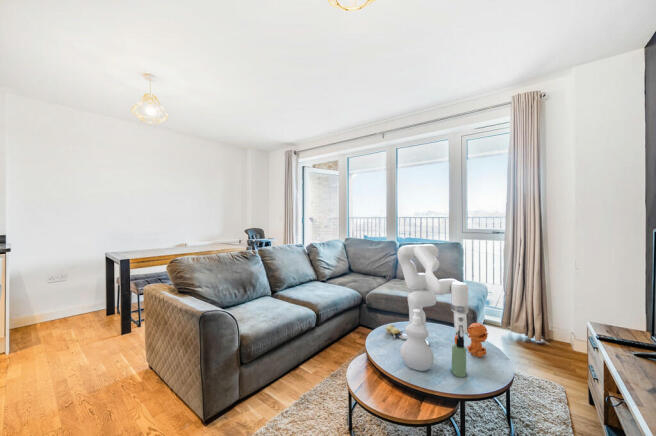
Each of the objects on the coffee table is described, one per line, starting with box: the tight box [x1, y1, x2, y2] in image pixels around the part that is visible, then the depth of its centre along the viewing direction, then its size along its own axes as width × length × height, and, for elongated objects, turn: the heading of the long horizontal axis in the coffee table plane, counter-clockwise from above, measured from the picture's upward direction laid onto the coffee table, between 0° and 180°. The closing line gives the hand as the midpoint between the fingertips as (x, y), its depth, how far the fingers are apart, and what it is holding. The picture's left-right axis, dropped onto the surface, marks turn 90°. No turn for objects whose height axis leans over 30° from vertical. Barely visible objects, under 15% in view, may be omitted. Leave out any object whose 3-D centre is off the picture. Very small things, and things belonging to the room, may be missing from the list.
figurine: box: [384, 324, 407, 341], centre depth 173 cm, size 10×6×15 cm
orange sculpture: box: [466, 321, 489, 358], centre depth 150 cm, size 11×11×18 cm
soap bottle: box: [399, 309, 435, 372], centre depth 138 cm, size 17×12×29 cm
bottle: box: [451, 343, 468, 378], centre depth 132 cm, size 6×6×18 cm
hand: (459, 344), depth 132 cm, fingers closed on cap, 3 cm apart
